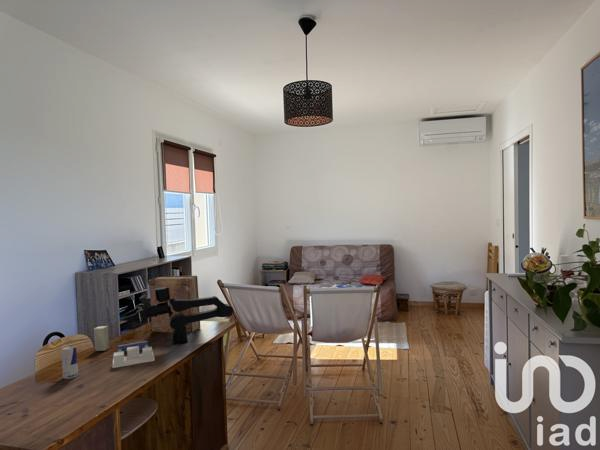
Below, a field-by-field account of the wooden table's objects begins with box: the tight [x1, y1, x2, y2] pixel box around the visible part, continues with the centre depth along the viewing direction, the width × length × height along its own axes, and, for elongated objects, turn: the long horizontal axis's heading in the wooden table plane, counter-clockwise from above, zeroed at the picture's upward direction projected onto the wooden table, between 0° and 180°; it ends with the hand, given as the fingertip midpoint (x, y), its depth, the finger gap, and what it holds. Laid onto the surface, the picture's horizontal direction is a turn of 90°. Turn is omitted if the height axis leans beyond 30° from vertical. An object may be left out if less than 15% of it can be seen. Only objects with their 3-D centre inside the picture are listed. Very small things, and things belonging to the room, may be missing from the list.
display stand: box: [111, 346, 155, 369], centre depth 183 cm, size 10×17×5 cm, turn 113°
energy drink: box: [60, 345, 79, 380], centre depth 168 cm, size 5×5×12 cm
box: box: [93, 325, 111, 352], centre depth 202 cm, size 5×4×11 cm
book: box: [148, 275, 201, 334], centre depth 229 cm, size 25×9×30 cm, turn 74°
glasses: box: [117, 340, 149, 354], centre depth 194 cm, size 10×13×4 cm
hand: (123, 317), depth 197 cm, fingers open, 9 cm apart
